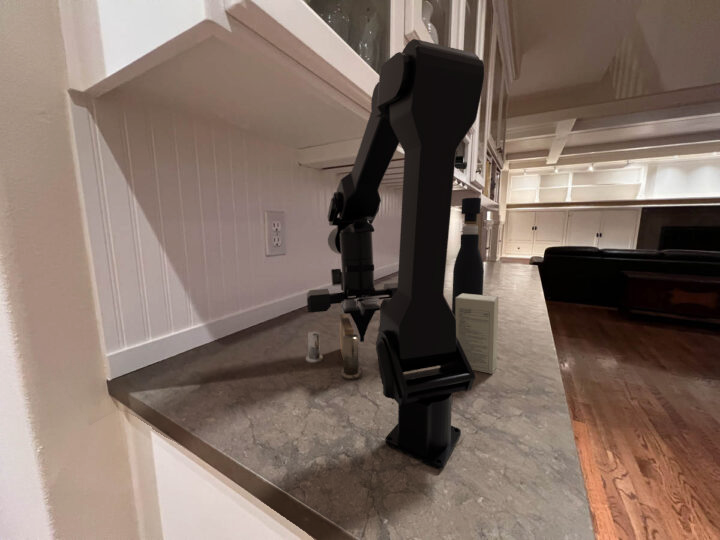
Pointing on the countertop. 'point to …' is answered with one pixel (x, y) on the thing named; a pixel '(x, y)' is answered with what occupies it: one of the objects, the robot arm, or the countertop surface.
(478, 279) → the wine bottle
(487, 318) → the skincare box
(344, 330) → the gate
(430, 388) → the robot arm
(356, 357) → the hinge post
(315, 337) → the post
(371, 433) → the countertop surface
